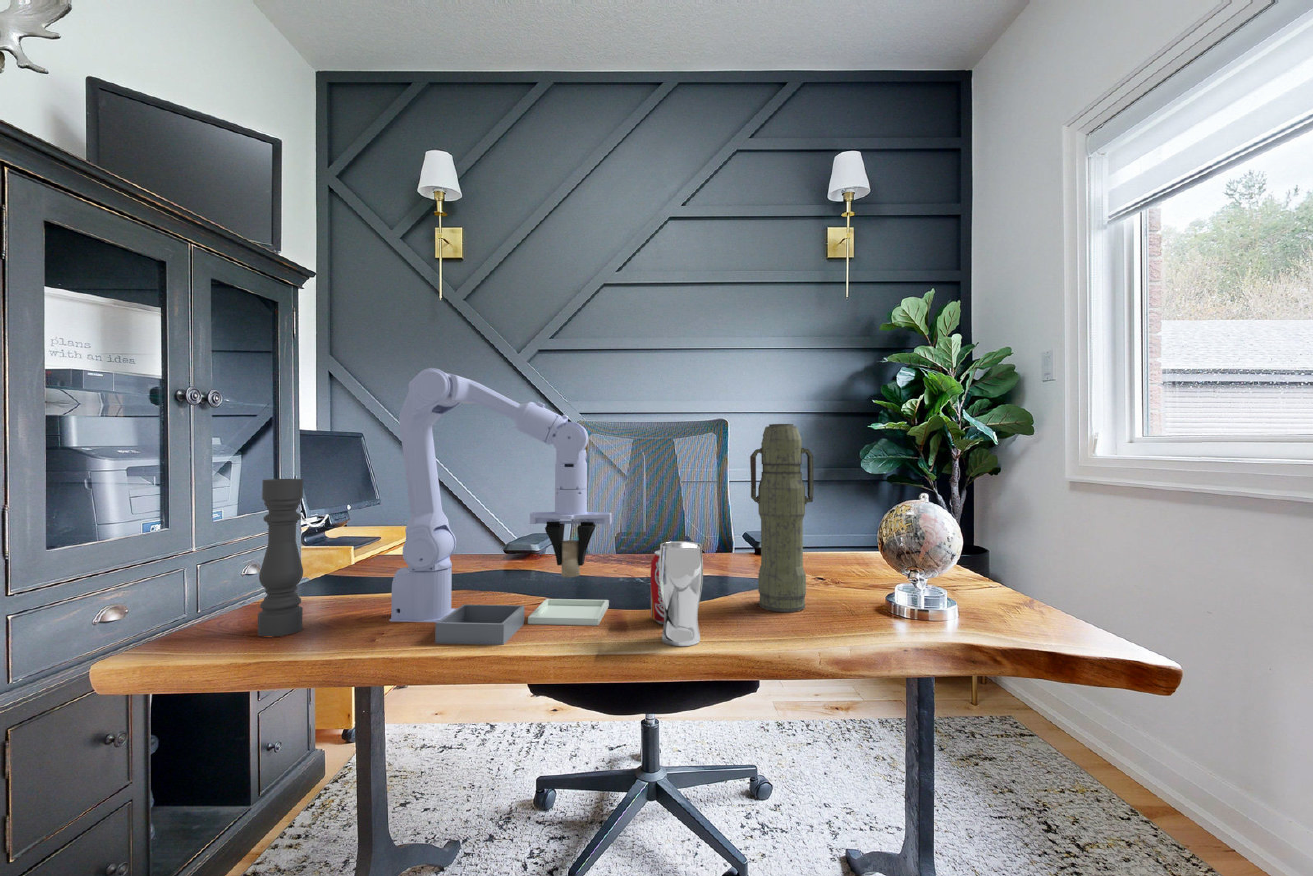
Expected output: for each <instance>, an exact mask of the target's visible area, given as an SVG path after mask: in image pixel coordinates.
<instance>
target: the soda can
mask: <svg viewBox="0 0 1313 876" xmlns="http://www.w3.org/2000/svg"><path fill="white" fill-rule="evenodd" d="M659 559H660V549H659V550H656V551H654V556H653V558H652V560H651V562H650V613H651V618H652V619H653V620H654V621H656V622H657V623H658V624H659V625H663V626H664V608H663V602H662V596H661V590H660V582H659Z"/></svg>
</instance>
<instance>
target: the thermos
mask: <svg viewBox="0 0 1313 876" xmlns="http://www.w3.org/2000/svg"><path fill="white" fill-rule="evenodd" d="M760 444H761V445H760V448H758V449H755V450H754V451H753V452H752V453H751V455H750V456H749V459H750V460H749V462H750V464H749V465H750V498H751V499H752V500H753V501H754V502H755V503H756V504H758V505H757V506H758V508H757V509H758V515H759V518H760V567H759V570H758V576H757V577H758V578H757V580H758V583H757V585H758V586H757V587H758V594H759V601H758V602H759V607H760V608H762V609H764V610H766V609H767V610H766V611H771V612H777V613H796V612H795V611H798V612H800V611H799V610H802V609H804V608H805V609H806V602H805V601H806V599H805V596H806V595H807V589H806V588H807V577H806V572H805V570H804V559H803V558H804V554H803V553H804V551H803V550H804V542H803V541H804V536H803V535H804V534H803V533H804V527H803V526H804V525H803V524H804V523H803V522H804V521H803V520H804V517H805V515H806V505H808V504H807V503H813V501H814V454H813V453H812V452H811V451H810V449H809V448H805V447H802V437H801V435H800V431H799V428H798V426H796V425H795V426H794V424H793V423H772V424H768V426H765V428H764V431H763V433H762V439H761V443H760ZM758 454H761V465H762V471H761V478H760V481H759V484H758V491H757V467H756V466H757V456H758ZM803 454H804V455H805V454H806V456H807V467H806V468H807V496H806V487H805V484H804V481H803V476H802V472H801V469H802V468H801V467H802V466H801V465H802V463H803V462H802V457H803V456H802V455H803ZM757 492H758V495H757ZM805 609H804V610H805ZM802 611H803V610H802Z"/></svg>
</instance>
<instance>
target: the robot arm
mask: <svg viewBox="0 0 1313 876" xmlns="http://www.w3.org/2000/svg"><path fill="white" fill-rule="evenodd" d="M461 404H465V405H471V404H472V405H473V404H477V405H480V406H482V407H484V408H486V409H489V410H491V411H494V412H496V413H497V414H499V415H502V416H503V417H506V418H509V419H510V420H513V422H514V424H515V427H516V429H517V431H519V432H521V433H523V434H525V435H528V436H530V437H531V438H534V439H536V440H537V441H540V442H542V443H544V444H546V445H548V446H549V445H553V447H554V448H555V450H556V451H555V453H556V454H555V463H554V465H555V466H554V472H555V473H554V474H555V475H554V479H555V480H554V511H541V512H540V511H535V512H531V513H530V512H529V525H537V524H541V525H543V524H545V525H546V526H544V530H545V533H546V534H547V537H548V538H549V540H550V543H551V545H552V548H553V551H554V555H555V558H556V566H562V541H564V537H565V536H564V535H565V527H566V526H565V525H567V524H568V525H578V526H577V528H576V529H577V539H578V540H577V541H578V542H579V552H578V566H583V565H585V559H586V554H587V550H588V547H589V543H590V541H591V539H592V536H593V534H594V531H595V530H596V526H597V525H607V526H608V525H609V526H610V525H612V522H613V519H612V516H613V513H612V512H595V511H588V506H587V505H588V463H587V455H588V454H587V450H586V447H587V446H588V445H589V432H588V431H587V430H586V428H585V427H584V426H583V425H581V424H580V423H579V422H576V421H575V422H574V421H568V420H569V419H570V418H569V416H568V415H566V414H562V415H560V414H558V413H556V412H554V411H552V410H550V409H548V408H546V404H544V403H542V402H541V401H537V403H536V402H533V401H529V402H526V403H523V404H521V403H518V402H517V401H515V400H513V399H510V398H509V397H507V396H505V395H503V394H501V393H499V392H497V391H495V390H493V389H491V388H490V387H488V386H485V385H483V384H481V383H480V382H477V381H475V380H472V379H469V378H465V377H463V376H459V375H456V374H453V373H446V372H444V371H443V370H442V369H438V368H434V367H430V368H426V369H423V370H421V371H419V373H417V375H416V376H415V377H413V379H411V380H410V381H409V382H408V393H407V395H406V398H405V399H404V403H403V405H402V408H401V410H400V413H399V416H398V417H399V418H398V421H399V423H398V425H399V428H400V429H399V430H400V437H401V438H400V439H401V446H402V447H401V448H402V455H403V462H404V469H405V471H404V472H405V481H406V485H407V486H406V488H407V493H408V502H409V503H408V504H409V510H410V517H409V520H408V522H407V525H406V527H405V540H404V544H403V547H402V557H403V560H404V562H405V563H406V565H407V567H400V568H399V569H398V570H396V572H395V573H394V575H393V579H392V581H391V582H392V583H391V611H390V612H391V614H390V615H391V616H390V617H391V618H390V619H389V620H388V621H389V622H397V623H398V622H401V623H402V622H403V623H405V622H407V623H408V622H409V623H436V622H438V621H439V620H441V619H442V618H444V617H445V616H447V615H448V614H450V613H451V612H453V611H454V610H456V609H457V608H452V582H453V581H452V567H453V566H452V565H453V564H452V561H451V556H453V554H454V552H455V551H456V550H457V549H456V547H457V539H456V536H455V534H454V532H453V531H452V530H451V527H450V524H449V519H448V517H447V516H446V514H445V513H444V511H443V507H442V505H443V504H442V498H441V497H442V496H441V489H440V482H439V475H438V473H439V472H438V466H437V457H436V452H435V450H436V449H435V441H434V435H433V426H434V425H435V423H436V422H437V421H438V420H439V419H440V418H441V417H442V416H443V415H444V414H446V413H447V412H449V411H451V410H453V409H455V408H457V407H458V406H460V405H461Z"/></svg>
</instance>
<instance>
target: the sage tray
mask: <svg viewBox="0 0 1313 876" xmlns="http://www.w3.org/2000/svg"><path fill="white" fill-rule="evenodd" d="M609 603H610V600H609V599H575V598H574V599H568V598H567V599H566V598H545V600H544V601H542V603H540V605H539V606H537V608H535V609H534V611H533V612H531V614H530V615H529V616H528V617H527V624H528V625H547V626H548V625H549V626H554V625H555V626H599V625H600V623H601V621H602V619H603V617H604V615H605V614H606V612H607V610H608V608H609V606H610V605H609Z"/></svg>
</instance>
